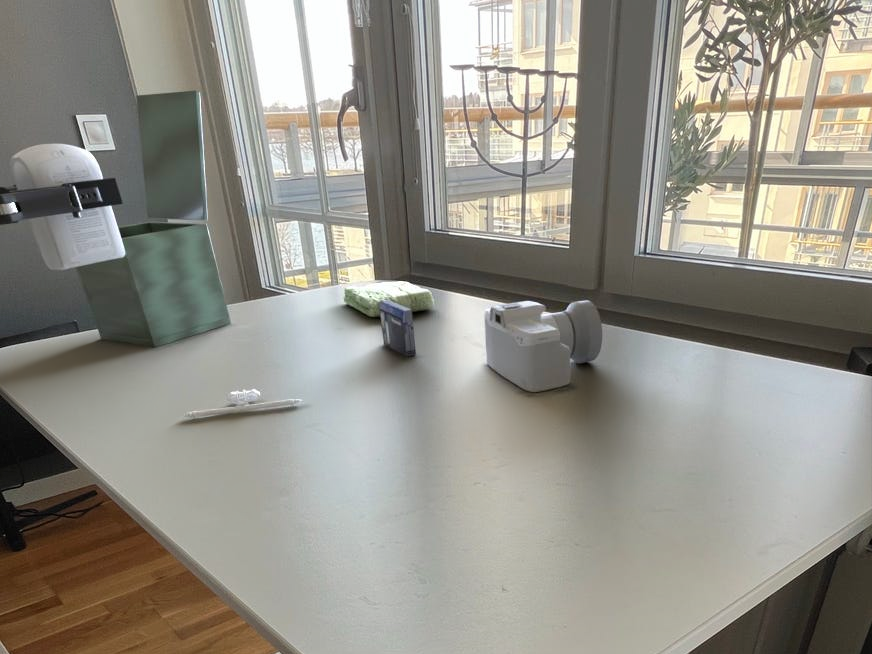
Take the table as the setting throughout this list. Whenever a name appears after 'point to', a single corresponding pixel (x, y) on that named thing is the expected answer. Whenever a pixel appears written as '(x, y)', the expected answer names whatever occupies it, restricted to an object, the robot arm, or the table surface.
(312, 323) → the table surface
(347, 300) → the washcloth
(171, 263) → the green open box
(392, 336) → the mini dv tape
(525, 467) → the table surface
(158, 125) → the lid
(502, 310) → the digital camera
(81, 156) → the white rounded flat block
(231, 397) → the picture light
